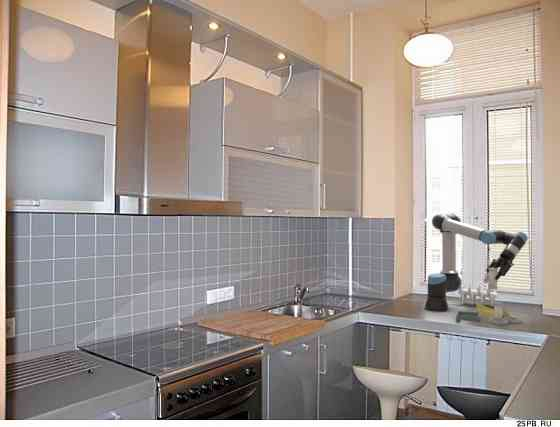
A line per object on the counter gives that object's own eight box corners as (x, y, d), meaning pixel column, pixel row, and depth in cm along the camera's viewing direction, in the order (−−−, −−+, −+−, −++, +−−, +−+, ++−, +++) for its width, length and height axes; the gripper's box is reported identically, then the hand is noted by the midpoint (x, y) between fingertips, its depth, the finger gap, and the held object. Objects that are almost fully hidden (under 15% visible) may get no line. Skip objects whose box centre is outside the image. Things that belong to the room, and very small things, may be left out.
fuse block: (511, 322, 269) (511, 316, 269) (525, 325, 261) (525, 319, 261) (486, 324, 262) (486, 318, 262) (498, 328, 253) (498, 322, 253)
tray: (457, 317, 280) (457, 310, 280) (479, 319, 275) (479, 312, 275) (456, 321, 269) (456, 314, 269) (479, 323, 264) (479, 316, 264)
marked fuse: (488, 287, 269) (488, 267, 269) (497, 288, 267) (497, 267, 267) (488, 288, 265) (488, 268, 265) (497, 289, 263) (498, 268, 263)
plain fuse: (493, 321, 262) (493, 301, 263) (502, 322, 261) (503, 301, 261) (493, 323, 258) (494, 302, 258) (503, 324, 256) (503, 303, 256)
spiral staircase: (495, 314, 311) (456, 308, 321) (496, 299, 325) (458, 294, 335) (497, 291, 303) (457, 286, 314) (498, 277, 318) (459, 273, 328)
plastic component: (511, 315, 278) (501, 309, 274) (506, 326, 277) (496, 320, 273) (485, 306, 296) (475, 300, 292) (480, 317, 295) (470, 311, 291)
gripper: (525, 259, 264) (503, 289, 258) (500, 256, 280) (479, 284, 274) (518, 250, 262) (497, 280, 255) (494, 247, 278) (472, 276, 272)
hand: (488, 282), depth 265 cm, fingers closed on marked fuse, 4 cm apart
